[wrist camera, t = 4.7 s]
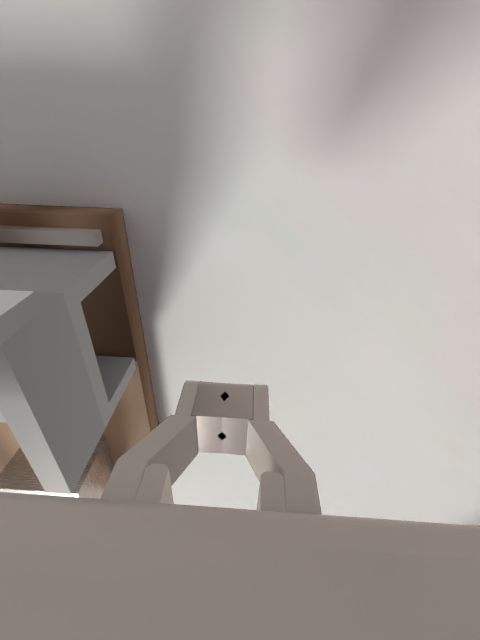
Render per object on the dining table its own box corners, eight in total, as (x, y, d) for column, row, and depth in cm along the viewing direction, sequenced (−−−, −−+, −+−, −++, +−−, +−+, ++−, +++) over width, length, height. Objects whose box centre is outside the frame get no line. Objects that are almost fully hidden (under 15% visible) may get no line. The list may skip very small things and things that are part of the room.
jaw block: (106, 436, 22) (77, 493, 18) (119, 480, 25) (97, 536, 21) (31, 432, 22) (-11, 488, 18) (53, 476, 25) (20, 531, 21)
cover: (112, 251, 14) (0, 345, 8) (135, 368, 18) (71, 494, 12) (-58, 244, 14) (-294, 329, 8) (1, 361, 18) (-132, 480, 12)
